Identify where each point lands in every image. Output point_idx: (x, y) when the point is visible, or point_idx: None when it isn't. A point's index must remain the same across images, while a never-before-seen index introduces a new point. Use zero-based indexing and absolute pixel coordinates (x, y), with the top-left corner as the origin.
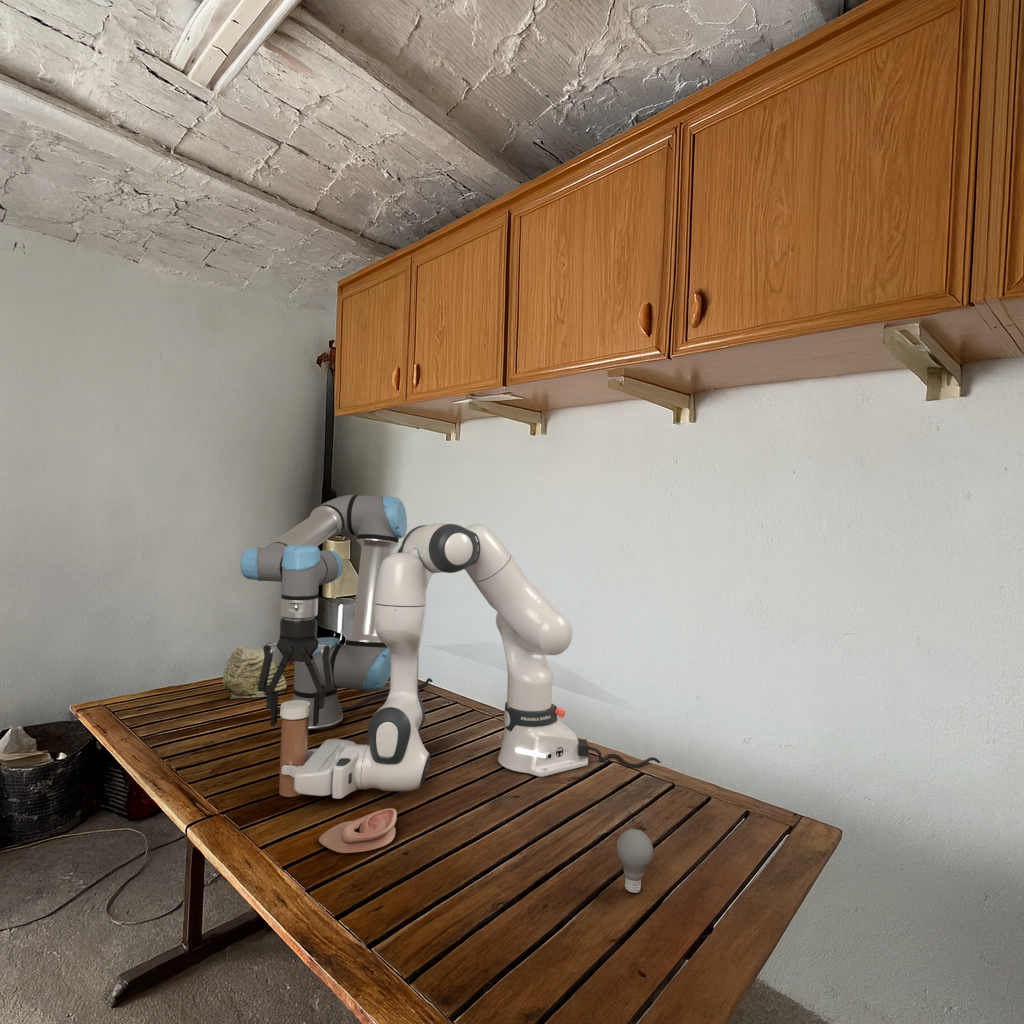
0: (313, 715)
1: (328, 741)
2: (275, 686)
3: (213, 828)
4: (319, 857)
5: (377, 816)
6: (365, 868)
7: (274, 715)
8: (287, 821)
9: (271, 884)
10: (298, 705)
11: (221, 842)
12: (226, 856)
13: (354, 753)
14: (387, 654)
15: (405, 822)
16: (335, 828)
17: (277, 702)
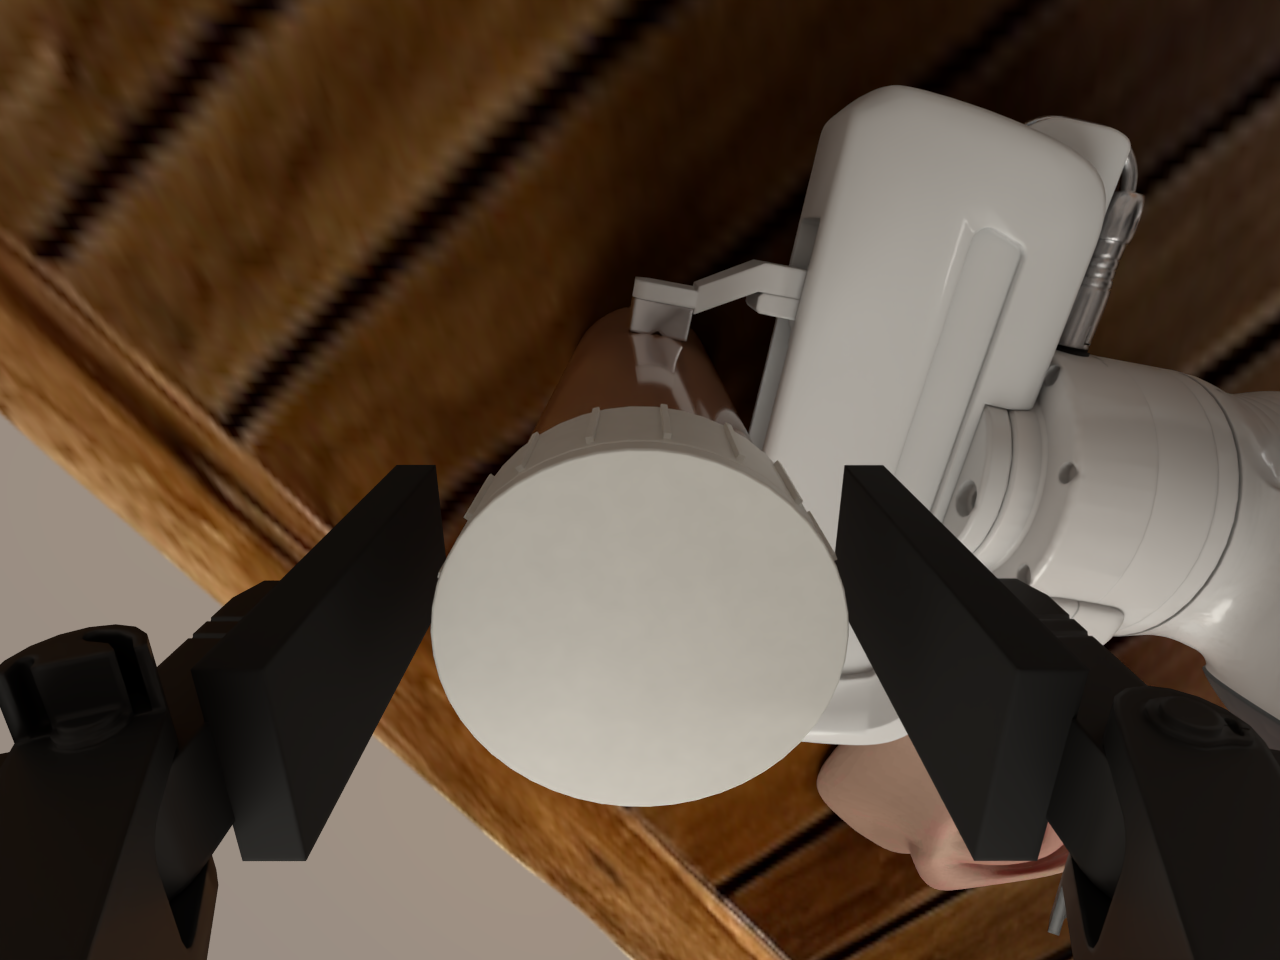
0: (864, 646)
1: (881, 178)
2: (149, 809)
3: (401, 683)
4: (825, 853)
5: None
6: (969, 905)
7: (414, 650)
8: None
9: (701, 951)
10: (688, 690)
11: (473, 767)
12: (523, 836)
13: (1097, 627)
14: None
15: (1156, 673)
16: (885, 785)
17: (352, 596)
